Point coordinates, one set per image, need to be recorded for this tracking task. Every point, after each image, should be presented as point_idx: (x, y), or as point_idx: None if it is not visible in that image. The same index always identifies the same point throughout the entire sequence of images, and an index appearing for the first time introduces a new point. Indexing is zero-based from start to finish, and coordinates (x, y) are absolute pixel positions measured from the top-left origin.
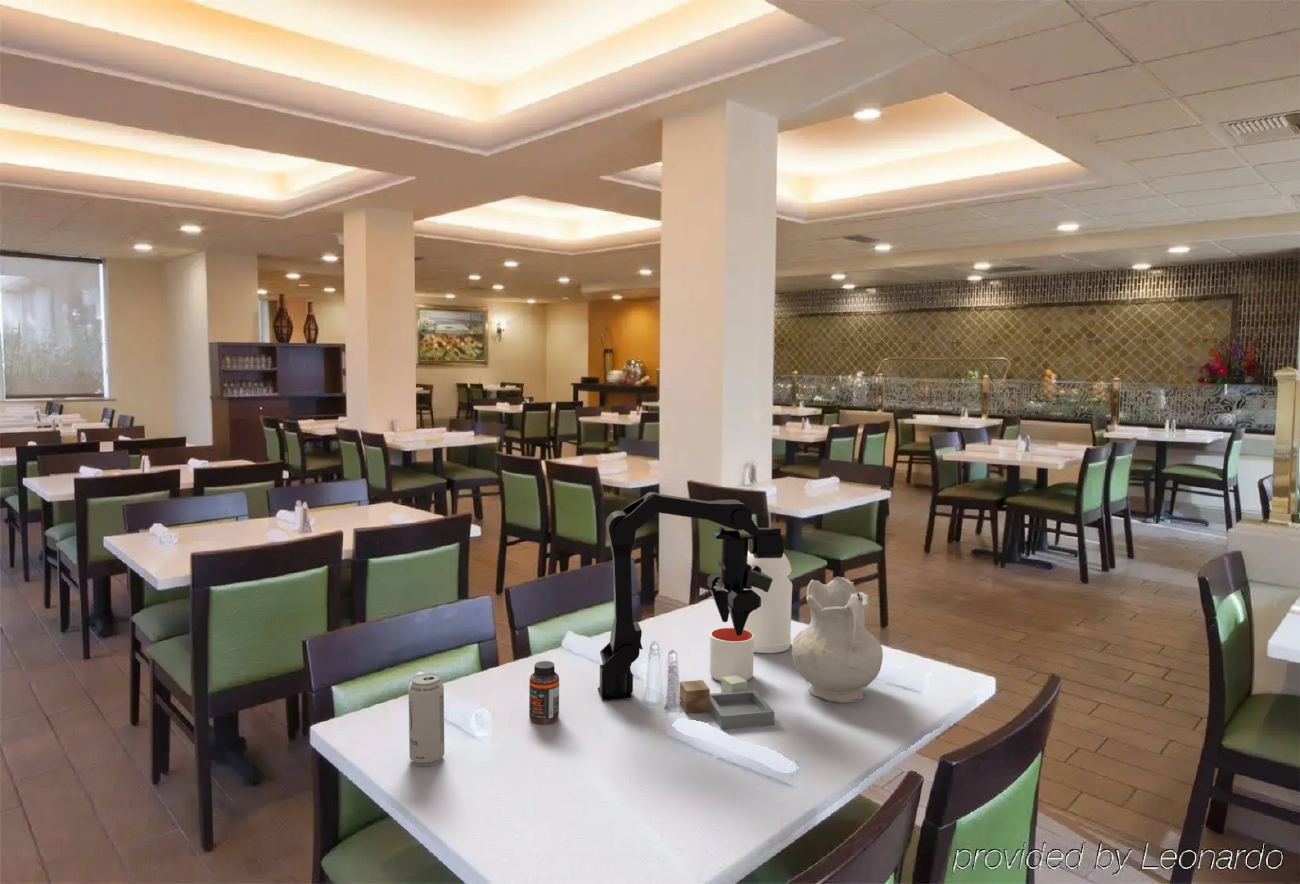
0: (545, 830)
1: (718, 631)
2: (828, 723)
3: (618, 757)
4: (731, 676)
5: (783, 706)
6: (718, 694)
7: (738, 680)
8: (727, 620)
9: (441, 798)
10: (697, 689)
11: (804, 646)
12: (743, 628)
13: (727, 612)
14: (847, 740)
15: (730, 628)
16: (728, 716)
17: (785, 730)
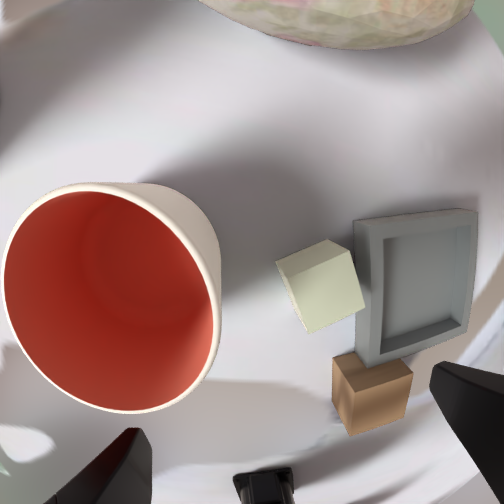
0: None
1: (36, 353)
2: (454, 90)
3: (453, 434)
4: (303, 300)
5: (383, 148)
6: (377, 337)
7: (341, 281)
8: (137, 433)
9: (437, 500)
10: (404, 398)
11: (434, 4)
12: (485, 372)
13: (122, 482)
14: (497, 99)
15: (7, 298)
16: (467, 317)
17: (476, 193)
